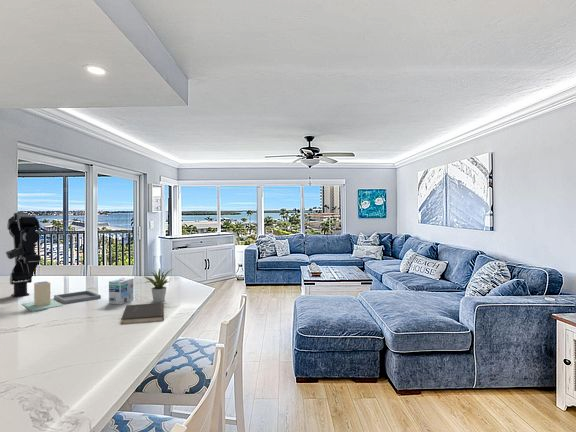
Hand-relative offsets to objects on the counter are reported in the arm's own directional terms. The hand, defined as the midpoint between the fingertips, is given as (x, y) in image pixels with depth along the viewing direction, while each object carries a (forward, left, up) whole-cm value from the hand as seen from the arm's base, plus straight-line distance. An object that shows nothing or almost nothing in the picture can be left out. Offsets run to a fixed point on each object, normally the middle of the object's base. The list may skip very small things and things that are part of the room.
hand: (27, 274), depth 186 cm
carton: (+15, +2, -12) cm, 19 cm away
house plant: (+42, +46, -13) cm, 64 cm away
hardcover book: (+61, +28, -14) cm, 68 cm away
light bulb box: (+32, +31, -13) cm, 46 cm away
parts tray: (+12, +18, -13) cm, 25 cm away
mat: (+15, +2, -13) cm, 20 cm away
